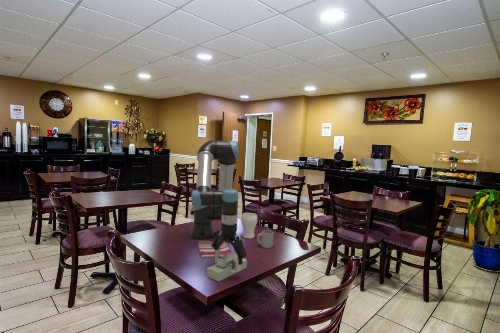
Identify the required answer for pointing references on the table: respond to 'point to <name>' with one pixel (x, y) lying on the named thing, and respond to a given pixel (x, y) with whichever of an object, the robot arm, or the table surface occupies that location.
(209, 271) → the rail
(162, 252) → the table surface
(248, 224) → the cup
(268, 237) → the cup
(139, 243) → the table surface
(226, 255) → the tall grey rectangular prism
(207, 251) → the dish towel
